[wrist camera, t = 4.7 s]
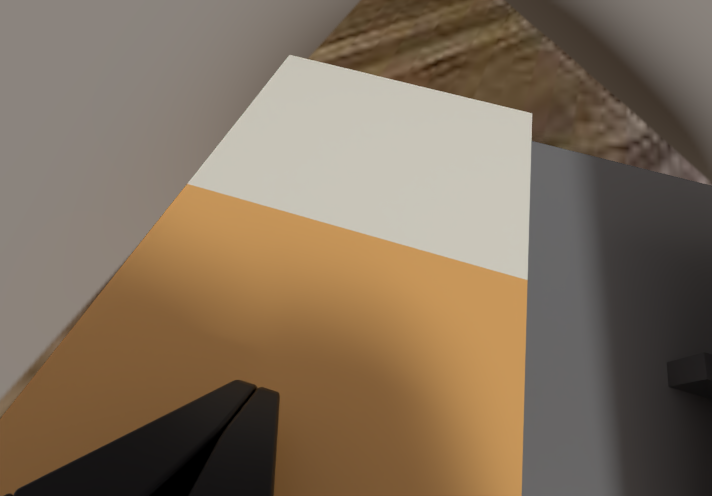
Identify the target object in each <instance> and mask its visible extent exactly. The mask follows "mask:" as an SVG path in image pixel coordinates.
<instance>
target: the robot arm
mask: <svg viewBox="0 0 712 496" xmlns="http://www.w3.org/2000/svg"><path fill="white" fill-rule="evenodd" d="M279 404H280V394H279V392H277V391H274V390H271V389H267V388H264V387H259V388H257V386H256V385H255V384H252V383H248V382H245V381H242V380H234V381H232V382H230V383H228V384H226V385H224V386H222V387H220V388H218V389H216V390H214V391H212V392H210V393H208V394H206V395H204V396H202V397H200V398H198V399H196V400H194V401H192V402H190V403H188V404H186V405H184V406H182V407H180V408H178V409H176V410H174V411H172V412H170V413H168V414H166V415H164V416H162V417H160V418H158V419H156V420H154V421H152V422H150V423H148V424H146V425H144V426H142V427H140V428H138V429H136V430H134V431H132V432H130V433H128V434H126V435H124V436H122V437H120V438H118V439H116V440H114V441H112V442H110V443H108V444H106V445H104V446H102V447H100V448H98V449H96V450H94V451H92V452H90V453H88V454H86V455H84V456H82V457H80V458H78V459H76V460H74V461H72V462H70V463H68V464H66V465H64V466H62V467H60V468H58V469H56V470H54V471H52V472H50V473H48V474H46V475H44V476H42V477H40V478H38V479H36V480H34V481H32V482H30V483H28V484H26V485H24V486H22V487H20V488H18V489H17V490H16V491H15V492H14V495H13V494H11V493H8V494H6V495H4V496H274V484H275V468H276V452H277V436H278V420H279Z"/></svg>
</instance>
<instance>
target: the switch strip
mask: <svg viewBox="0 0 712 496" xmlns="http://www.w3.org/2000/svg"><path fill="white" fill-rule="evenodd" d="M522 496H712V186H711V185H707V184H702V183H698V182H694V181H690V180H686V179H682V178H678V177H674V176H670V175H666V174H662V173H658V172H654V171H650V170H646V169H642V168H638V167H634V166H630V165H626V164H622V163H618V162H614V161H610V160H606V159H602V158H598V157H594V156H590V155H586V154H582V153H578V152H574V151H570V150H566V149H562V148H558V147H554V146H550V145H546V144H542V143H538V142H534V141H531V174H530V210H529V246H528V282H527V318H526V354H525V390H524V426H523V462H522Z"/></svg>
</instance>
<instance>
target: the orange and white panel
mask: <svg viewBox="0 0 712 496" xmlns="http://www.w3.org/2000/svg"><path fill="white" fill-rule="evenodd" d="M531 138H532V113H528V112H524V111H520V110H516V109H512V108H507V107H503V106H499V105H495V104H491V103H487V102H483V101H478V100H474V99H470V98H466V97H462V96H458V95H454V94H450V93H445V92H441V91H437V90H433V89H429V88H425V87H421V86H417V85H412V84H408V83H404V82H400V81H396V80H392V79H388V78H383V77H379V76H375V75H371V74H367V73H363V72H359V71H355V70H350V69H346V68H342V67H338V66H334V65H330V64H326V63H321V62H317V61H313V60H309V59H305V58H301V57H296V56H292V55H289V56H288V58H287V59H286V60H285V61H284V63H283V64H282V65H281V66H280V68H279V69H278V70H277V72H276V73H275V74H274V75H273V77H272V78H271V79H270V80H269V82H268V83H267V84H266V85H265V87H264V88H263V89H262V90H261V92H260V93H259V94H258V95H257V97H256V98H255V99H254V100H253V102H252V103H251V104H250V105H249V107H248V108H247V109H246V111H245V112H244V113H243V114H242V115H241V117H240V118H239V119H238V120H237V122H236V123H235V124H234V126H233V127H232V128H231V129H230V131H229V132H228V133H227V134H226V136H225V137H224V138H223V139H222V141H221V142H220V143H219V144H218V146H217V147H216V148H215V149H214V151H213V152H212V153H211V154H210V156H209V157H208V158H207V160H206V161H205V162H204V163H203V165H202V166H201V167H200V168H199V170H198V171H197V172H196V173H195V175H194V176H193V177H192V178H191V180H190V181H189V182H188V184H187V185H186V186H185V187H184V189H183V190H182V191H181V192H180V193H179V195H178V196H177V197H176V199H175V200H174V201H173V202H172V203H171V205H170V206H169V207H168V208H167V210H166V211H165V212H164V214H163V215H162V216H161V217H160V219H159V220H158V221H157V222H156V224H155V225H154V226H153V227H152V229H151V230H150V231H149V232H148V234H147V235H146V236H145V237H144V239H143V240H142V241H141V242H140V244H139V245H138V246H137V247H136V249H135V250H134V251H133V252H132V254H131V255H130V256H129V257H128V259H127V260H126V261H125V262H124V264H123V265H122V266H121V268H120V269H119V270H118V271H117V273H116V274H115V275H114V276H113V278H112V279H111V280H110V281H109V283H108V284H107V285H106V286H105V288H104V289H103V290H102V291H101V293H100V294H99V295H98V296H97V298H96V299H95V300H94V301H93V303H92V304H91V305H90V306H89V308H88V309H87V310H86V312H85V313H84V314H83V315H82V317H81V318H80V319H79V320H78V322H77V323H76V324H75V325H74V327H73V328H72V329H71V330H70V332H69V333H68V334H67V335H66V337H65V338H64V339H63V340H62V342H61V343H60V344H59V345H58V347H57V348H56V349H55V350H54V352H53V353H52V354H51V355H50V357H49V358H48V359H47V361H46V362H45V363H44V364H43V366H42V367H41V368H40V369H39V371H38V372H37V373H36V374H35V376H34V377H33V378H32V379H31V381H30V382H29V383H28V384H27V386H26V387H25V388H24V389H23V391H22V392H21V393H20V394H19V396H18V397H17V398H16V399H15V401H14V402H13V403H12V405H11V406H10V407H9V408H8V410H7V411H6V412H5V413H4V415H3V416H2V417H1V418H0V496H4V495H6V494H8V493H11V494H13V495H14V492H15V491H16V490H17V489H18V488H20V487H22V486H24V485H26V484H28V483H30V482H32V481H34V480H36V479H38V478H40V477H42V476H44V475H46V474H48V473H50V472H52V471H54V470H56V469H58V468H60V467H62V466H64V465H66V464H68V463H70V462H72V461H74V460H76V459H78V458H80V457H82V456H84V455H86V454H88V453H90V452H92V451H94V450H96V449H98V448H100V447H102V446H104V445H106V444H108V443H110V442H112V441H114V440H116V439H118V438H120V437H122V436H124V435H126V434H128V433H130V432H132V431H134V430H136V429H138V428H140V427H142V426H144V425H146V424H148V423H150V422H152V421H154V420H156V419H158V418H160V417H162V416H164V415H166V414H168V413H170V412H172V411H174V410H176V409H178V408H180V407H182V406H184V405H186V404H188V403H190V402H192V401H194V400H196V399H198V398H200V397H202V396H204V395H206V394H208V393H210V392H212V391H214V390H216V389H218V388H220V387H222V386H224V385H226V384H228V383H230V382H232V381H234V380H242V381H245V382H248V383H252V384H255V385H256V386H257V388H259V387H264V388H267V389H271V390H274V391H277V392H279V394H280V404H279V420H278V436H277V452H276V468H275V484H274V496H522V462H523V426H524V390H525V354H526V318H527V282H528V246H529V210H530V174H531Z"/></svg>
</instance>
